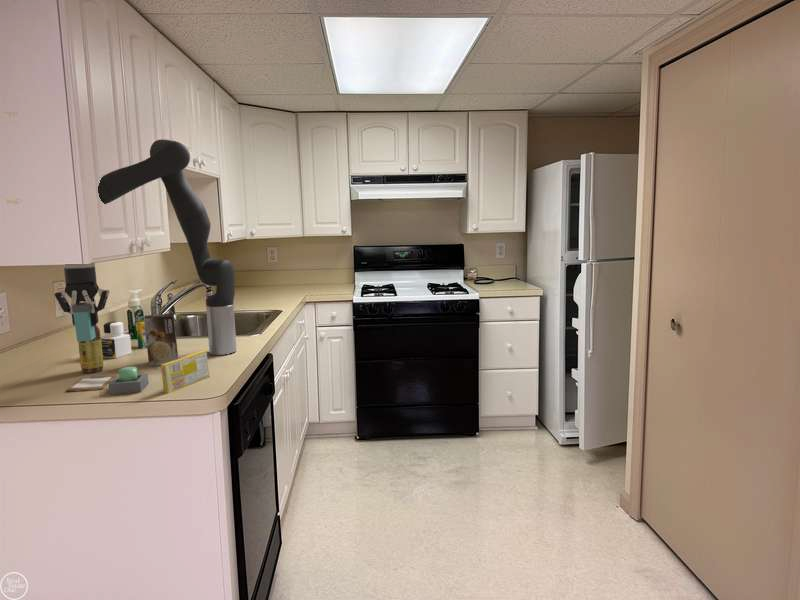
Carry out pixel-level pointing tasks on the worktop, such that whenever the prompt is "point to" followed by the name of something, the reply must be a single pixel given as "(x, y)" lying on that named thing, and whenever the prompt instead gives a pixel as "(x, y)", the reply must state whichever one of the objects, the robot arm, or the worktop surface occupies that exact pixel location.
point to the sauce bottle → (91, 354)
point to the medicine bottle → (115, 341)
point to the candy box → (184, 371)
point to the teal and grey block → (83, 322)
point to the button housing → (128, 385)
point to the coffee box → (160, 338)
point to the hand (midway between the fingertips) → (85, 325)
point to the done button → (128, 374)
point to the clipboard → (91, 383)
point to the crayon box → (141, 333)
